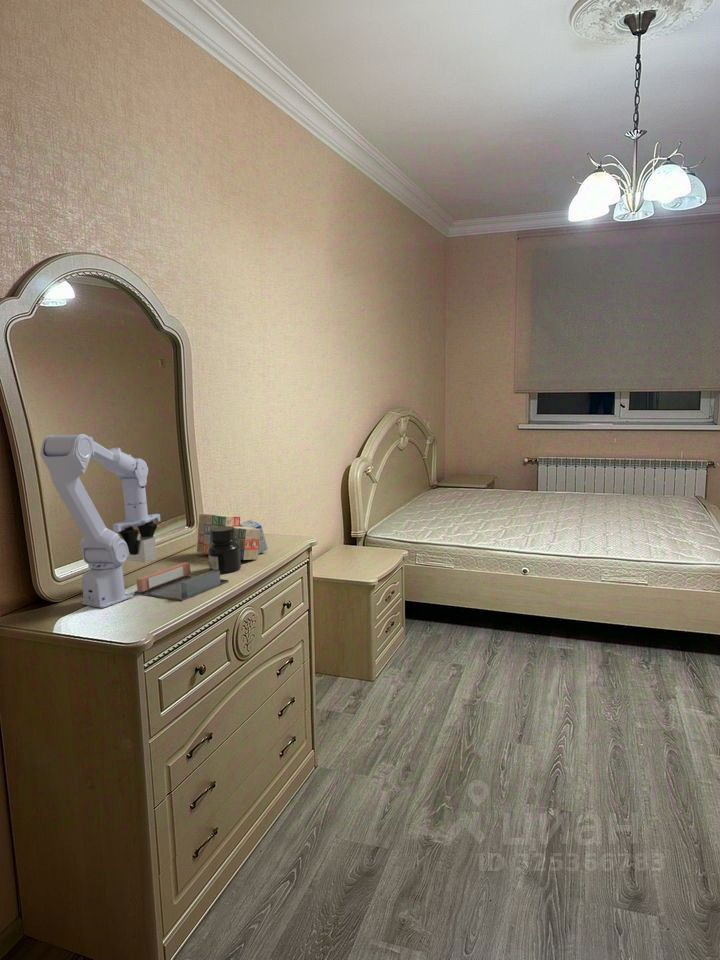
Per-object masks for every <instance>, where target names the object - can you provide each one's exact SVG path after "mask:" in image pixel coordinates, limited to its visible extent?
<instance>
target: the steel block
mask: <svg viewBox="0 0 720 960" xmlns="http://www.w3.org/2000/svg"><path fill="white" fill-rule="evenodd" d="M122 540H124V539H123V538H122ZM157 559H158V555H157V544H156V536H153V537H148V536H141V535H138V537H137V555H130V552H129V550H128V557H127V559H126V561H130V562H138V563H149V562H152V561H154V560H157Z"/></svg>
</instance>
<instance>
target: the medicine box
mask: <svg viewBox="0 0 720 960" xmlns="http://www.w3.org/2000/svg"><path fill="white" fill-rule="evenodd" d="M240 527H249V528H256V529H260V539H259V549H258V555H259V554H261V553H264V552H266V551H268V549H269V547H268V544H267V540H266V536H265V533H264V529H263V526H262V525H261V524H259V523H257V522H255V521H254V520H252V519H249V520H245V521H244V522H240Z"/></svg>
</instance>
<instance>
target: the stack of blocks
mask: <svg viewBox="0 0 720 960" xmlns="http://www.w3.org/2000/svg"><path fill="white" fill-rule="evenodd" d="M240 524H241V516H236V515H229V514H227V515H226V514H218V513H217V514H214V513H199V514H198V524H197V525H198V527H197V543H196V546H197V547H196V553H198V554H204V555H208V549H209V547H210V546H211V545H212V544H213V543H212V542H211V533H210V529H212V528H215V527H222V526H232V527H234V529H235V541H234V542H236V544H238V545H239V547H240V559H241V561H242V560H243V561H246V560H247V561H250V560H258V559H259V554H258V549H259V539H260V529H256V528H249V527H240Z"/></svg>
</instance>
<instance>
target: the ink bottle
mask: <svg viewBox="0 0 720 960" xmlns="http://www.w3.org/2000/svg"><path fill="white" fill-rule="evenodd" d="M210 533H211V542H212V543H213V544H212V545H211V546H210V547H209V549H208V554H207V555H208V564H209V565H208V566H209V571H212V570H220V574H227V573H233V572H237V571H239V570H240V569H241V568H242V563H241V562H242V560H241V559H240V547H239V545H238V544H236V542H234V541H235V529H234V527H232V526H222V527H215V528H212V529H210Z"/></svg>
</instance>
